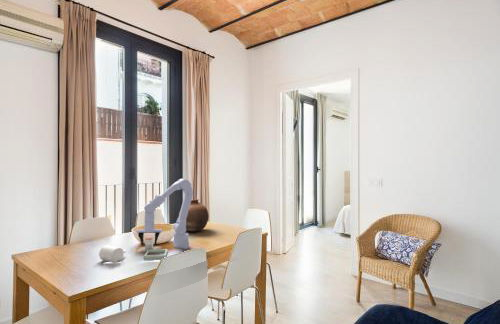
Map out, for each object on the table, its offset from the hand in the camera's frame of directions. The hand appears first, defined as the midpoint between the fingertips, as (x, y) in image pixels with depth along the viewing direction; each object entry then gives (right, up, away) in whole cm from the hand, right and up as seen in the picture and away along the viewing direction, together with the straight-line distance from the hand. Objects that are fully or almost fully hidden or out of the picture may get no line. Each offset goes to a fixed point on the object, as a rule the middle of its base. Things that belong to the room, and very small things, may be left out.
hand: (149, 244), depth 182 cm
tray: (+8, -4, -11) cm, 14 cm away
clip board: (0, -4, 0) cm, 4 cm away
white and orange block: (0, -3, 0) cm, 3 cm away
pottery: (+18, -4, +53) cm, 56 cm away
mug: (-13, -4, -17) cm, 22 cm away
